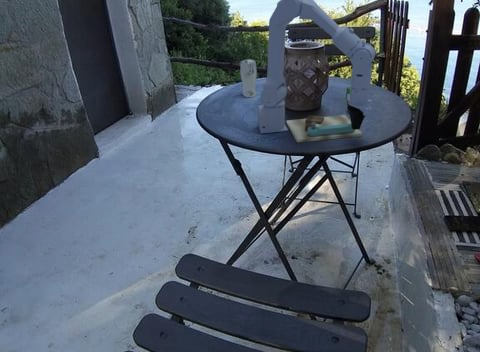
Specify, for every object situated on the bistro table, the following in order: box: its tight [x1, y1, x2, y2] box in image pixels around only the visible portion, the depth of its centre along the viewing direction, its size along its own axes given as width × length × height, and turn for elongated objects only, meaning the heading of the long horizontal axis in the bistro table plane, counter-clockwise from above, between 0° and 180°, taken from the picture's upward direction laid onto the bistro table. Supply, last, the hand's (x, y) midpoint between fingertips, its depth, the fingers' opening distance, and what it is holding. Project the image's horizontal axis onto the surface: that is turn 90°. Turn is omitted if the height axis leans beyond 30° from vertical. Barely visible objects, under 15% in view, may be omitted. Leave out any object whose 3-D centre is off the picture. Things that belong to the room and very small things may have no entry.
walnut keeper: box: [305, 115, 325, 131], centre depth 126 cm, size 4×5×4 cm
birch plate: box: [285, 114, 363, 143], centre depth 129 cm, size 22×17×1 cm
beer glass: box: [239, 59, 257, 98], centre depth 162 cm, size 7×7×15 cm
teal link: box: [308, 122, 355, 136], centre depth 122 cm, size 16×4×4 cm, turn 96°
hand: (355, 128), depth 118 cm, fingers closed
